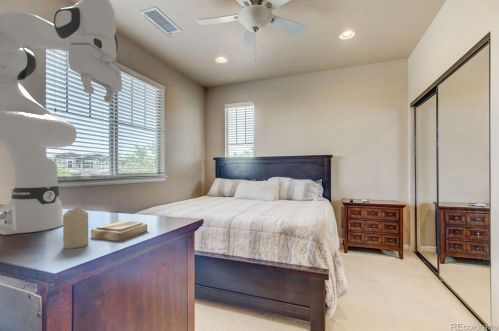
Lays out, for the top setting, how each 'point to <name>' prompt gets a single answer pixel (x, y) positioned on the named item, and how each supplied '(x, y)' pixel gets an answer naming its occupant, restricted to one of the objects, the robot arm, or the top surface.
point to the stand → (119, 230)
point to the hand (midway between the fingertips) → (99, 97)
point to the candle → (75, 228)
